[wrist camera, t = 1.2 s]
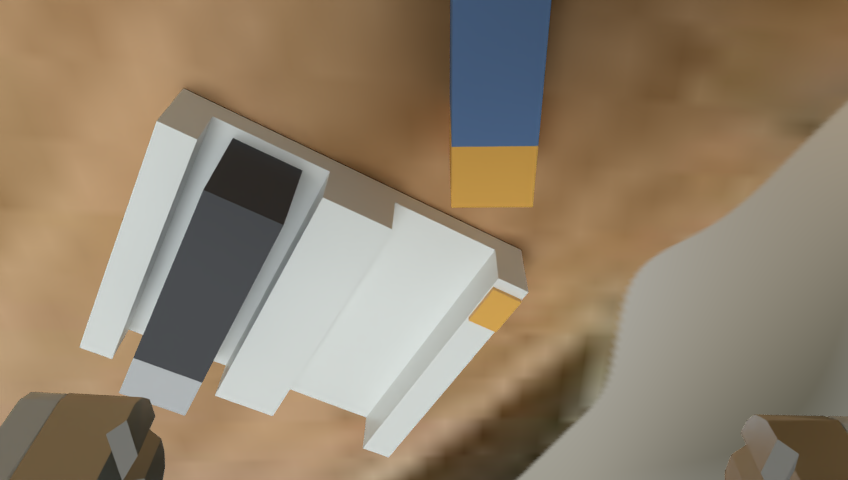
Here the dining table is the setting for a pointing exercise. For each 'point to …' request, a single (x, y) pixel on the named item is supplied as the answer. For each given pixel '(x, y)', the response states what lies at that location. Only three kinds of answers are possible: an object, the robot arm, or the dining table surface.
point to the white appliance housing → (316, 280)
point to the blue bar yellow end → (496, 99)
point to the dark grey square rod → (211, 275)
